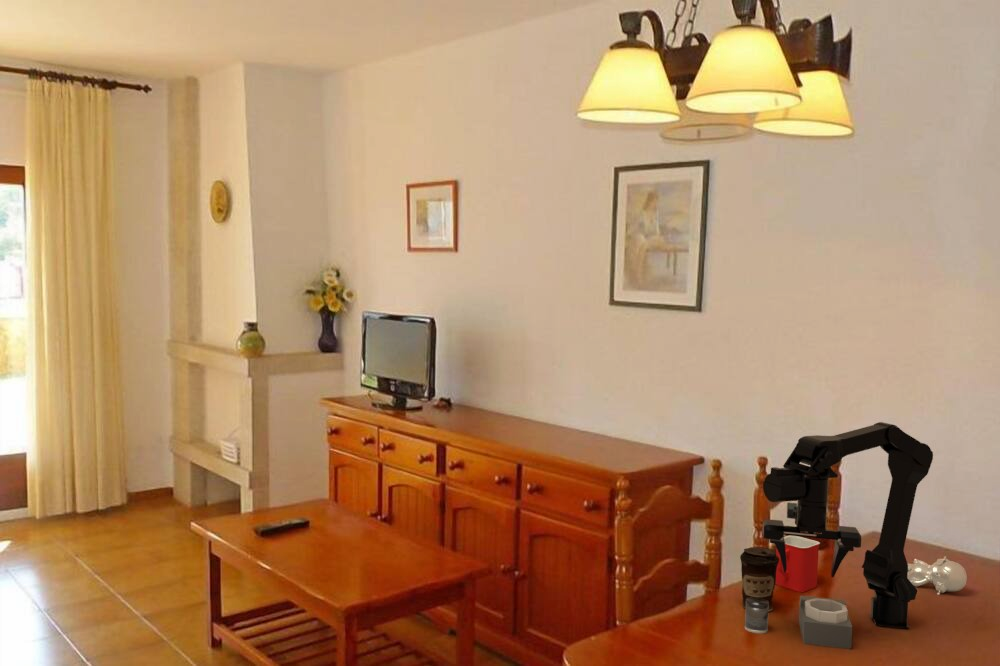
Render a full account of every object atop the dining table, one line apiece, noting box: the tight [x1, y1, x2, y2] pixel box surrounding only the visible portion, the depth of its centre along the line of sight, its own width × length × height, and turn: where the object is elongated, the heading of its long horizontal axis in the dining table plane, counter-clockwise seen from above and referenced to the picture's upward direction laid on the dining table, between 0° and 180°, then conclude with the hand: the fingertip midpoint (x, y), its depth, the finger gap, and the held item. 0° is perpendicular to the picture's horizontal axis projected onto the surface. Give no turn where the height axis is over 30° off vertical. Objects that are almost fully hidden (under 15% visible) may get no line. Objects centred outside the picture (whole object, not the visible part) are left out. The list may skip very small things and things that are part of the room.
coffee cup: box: [739, 546, 779, 612], centre depth 197 cm, size 9×8×13 cm
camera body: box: [798, 595, 853, 650], centre depth 183 cm, size 9×12×6 cm
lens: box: [744, 597, 769, 634], centre depth 185 cm, size 5×5×6 cm
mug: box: [775, 535, 821, 593], centre depth 211 cm, size 12×8×11 cm
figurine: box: [907, 555, 968, 596], centre depth 213 cm, size 11×7×15 cm
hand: (808, 574), depth 182 cm, fingers open, 9 cm apart
